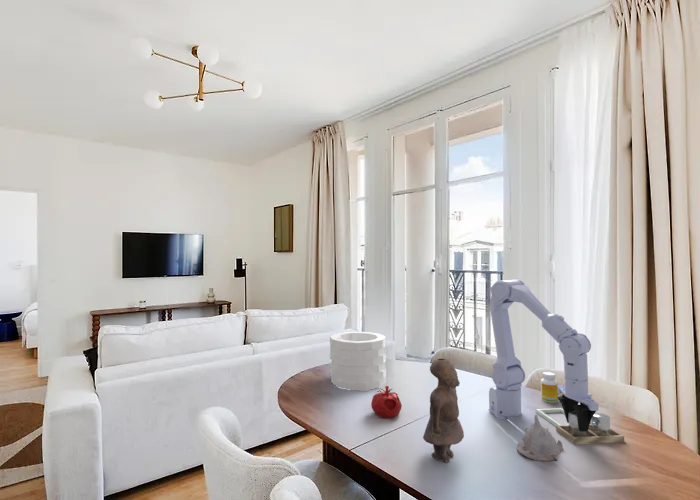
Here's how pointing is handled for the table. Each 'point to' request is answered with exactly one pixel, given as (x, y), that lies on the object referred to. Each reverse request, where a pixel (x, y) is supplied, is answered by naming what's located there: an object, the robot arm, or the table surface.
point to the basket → (358, 360)
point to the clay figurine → (444, 411)
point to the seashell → (539, 443)
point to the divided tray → (590, 436)
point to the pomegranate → (386, 404)
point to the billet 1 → (575, 426)
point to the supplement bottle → (549, 388)
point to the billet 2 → (600, 424)
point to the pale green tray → (552, 410)
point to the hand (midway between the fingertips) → (577, 426)
